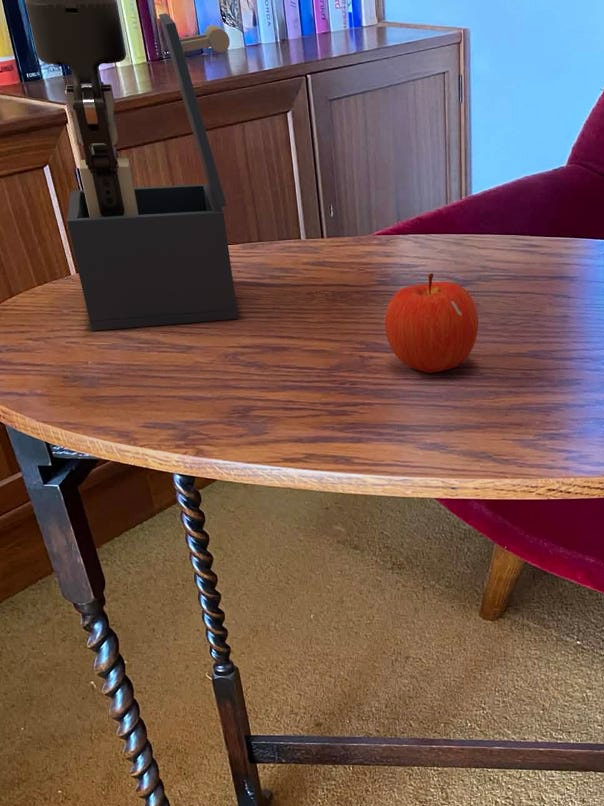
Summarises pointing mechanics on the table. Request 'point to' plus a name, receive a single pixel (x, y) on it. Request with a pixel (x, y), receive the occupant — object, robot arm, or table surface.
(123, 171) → the block
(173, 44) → the lid
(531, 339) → the table surface
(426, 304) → the apple
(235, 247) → the table surface
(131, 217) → the chest
